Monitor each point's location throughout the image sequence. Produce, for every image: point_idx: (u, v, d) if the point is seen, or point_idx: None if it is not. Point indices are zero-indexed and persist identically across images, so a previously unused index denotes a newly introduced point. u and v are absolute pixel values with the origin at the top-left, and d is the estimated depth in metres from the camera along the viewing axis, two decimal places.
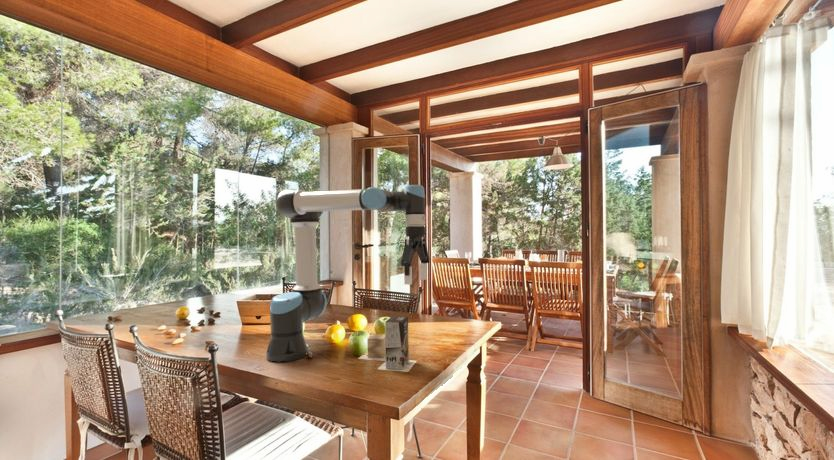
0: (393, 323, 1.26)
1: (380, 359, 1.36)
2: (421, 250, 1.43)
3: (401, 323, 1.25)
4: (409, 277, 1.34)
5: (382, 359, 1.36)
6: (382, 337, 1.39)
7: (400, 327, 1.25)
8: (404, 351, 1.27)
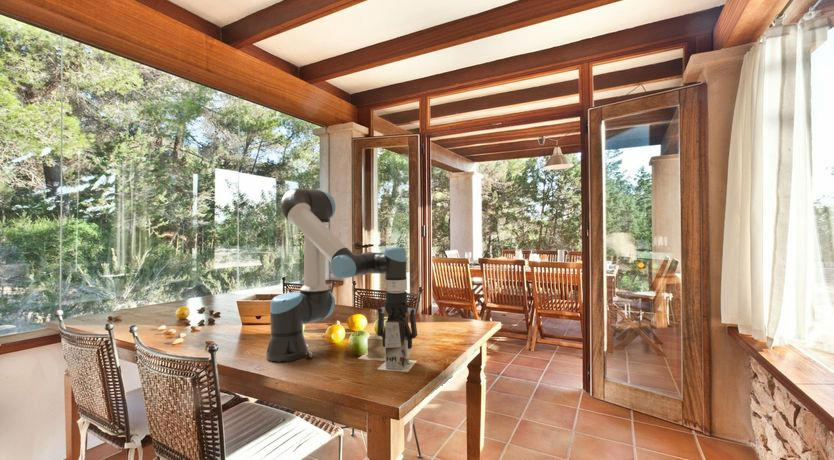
0: (393, 323, 1.26)
1: (380, 359, 1.36)
2: None
3: (401, 323, 1.25)
4: None
5: (382, 359, 1.36)
6: None
7: (400, 327, 1.25)
8: (404, 351, 1.27)
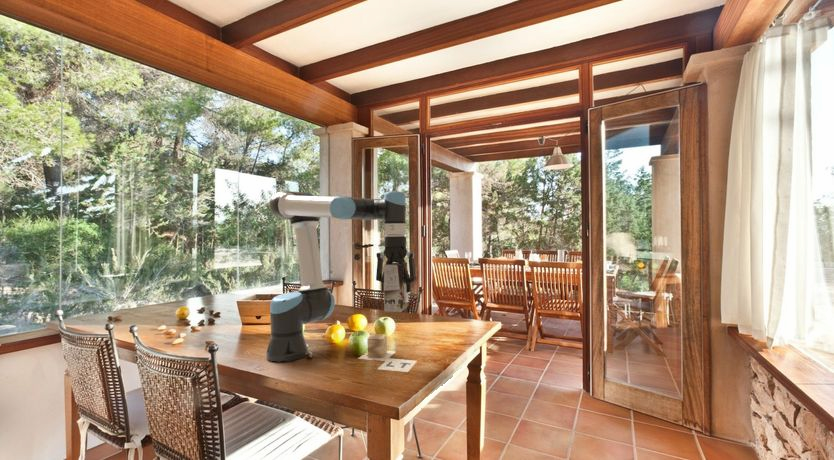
0: (392, 266, 1.26)
1: (380, 359, 1.36)
2: None
3: (400, 266, 1.25)
4: None
5: (382, 359, 1.36)
6: (382, 337, 1.39)
7: (399, 270, 1.25)
8: (403, 294, 1.27)
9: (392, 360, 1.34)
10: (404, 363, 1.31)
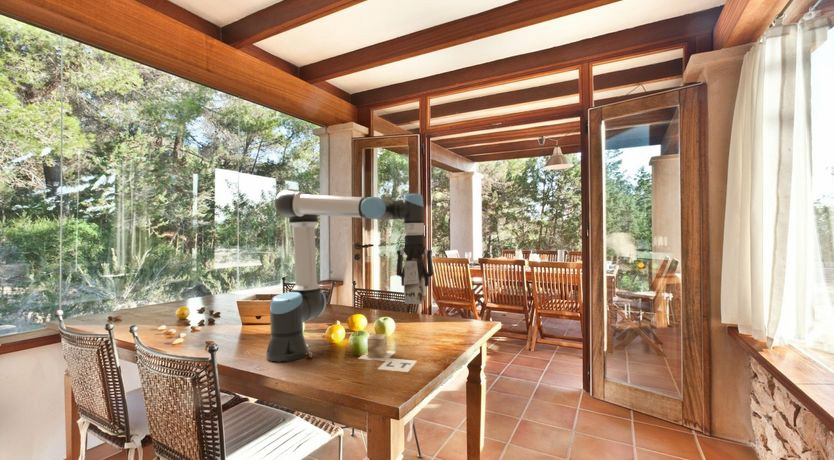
0: (412, 262, 1.37)
1: (380, 359, 1.36)
2: None
3: (419, 261, 1.37)
4: None
5: (382, 359, 1.36)
6: (382, 337, 1.39)
7: (418, 265, 1.37)
8: (421, 288, 1.38)
9: (392, 360, 1.34)
10: (404, 363, 1.31)
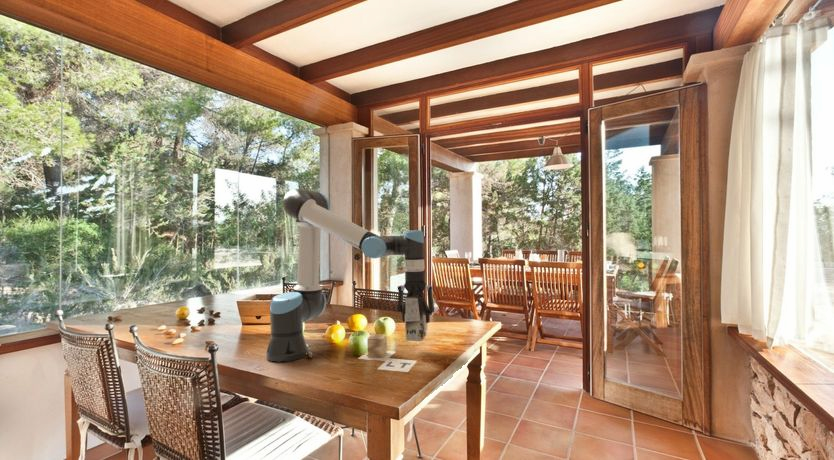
0: (412, 299, 1.37)
1: (380, 359, 1.36)
2: None
3: (420, 299, 1.37)
4: None
5: (382, 359, 1.36)
6: (382, 337, 1.39)
7: (419, 302, 1.37)
8: (422, 325, 1.38)
9: (392, 360, 1.34)
10: (404, 363, 1.31)
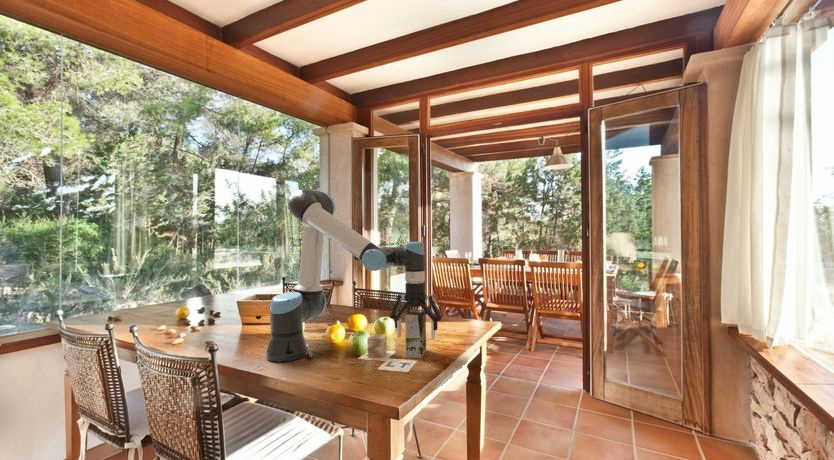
0: (412, 316, 1.37)
1: (380, 359, 1.36)
2: None
3: (420, 316, 1.37)
4: None
5: (382, 359, 1.36)
6: (382, 337, 1.39)
7: (419, 319, 1.37)
8: (422, 341, 1.38)
9: (392, 360, 1.34)
10: (404, 363, 1.31)
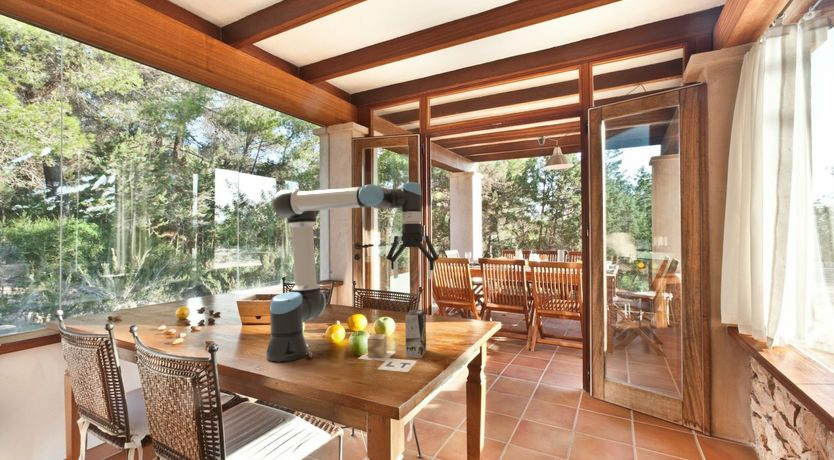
0: (412, 316, 1.37)
1: (380, 359, 1.36)
2: None
3: (420, 316, 1.37)
4: None
5: (382, 359, 1.36)
6: (382, 337, 1.39)
7: (419, 319, 1.37)
8: (422, 341, 1.38)
9: (392, 360, 1.34)
10: (404, 363, 1.31)
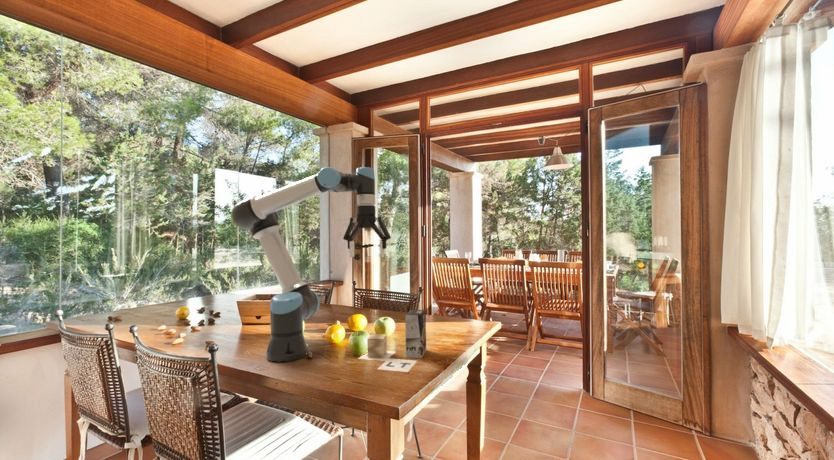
0: (412, 316, 1.37)
1: (380, 359, 1.36)
2: None
3: (420, 316, 1.37)
4: None
5: (382, 359, 1.36)
6: (382, 337, 1.39)
7: (419, 319, 1.37)
8: (422, 341, 1.38)
9: (392, 360, 1.34)
10: (404, 363, 1.31)
